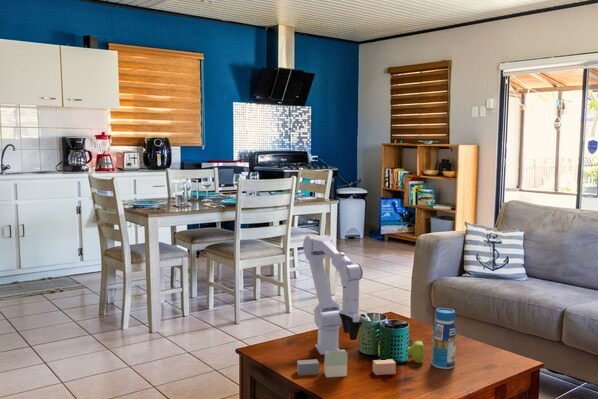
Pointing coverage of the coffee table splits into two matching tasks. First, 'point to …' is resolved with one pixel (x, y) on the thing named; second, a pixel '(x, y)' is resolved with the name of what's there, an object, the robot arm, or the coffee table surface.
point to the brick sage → (336, 357)
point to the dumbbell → (414, 351)
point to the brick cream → (335, 370)
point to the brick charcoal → (307, 367)
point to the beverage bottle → (444, 339)
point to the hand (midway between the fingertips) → (350, 336)
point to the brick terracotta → (384, 367)
